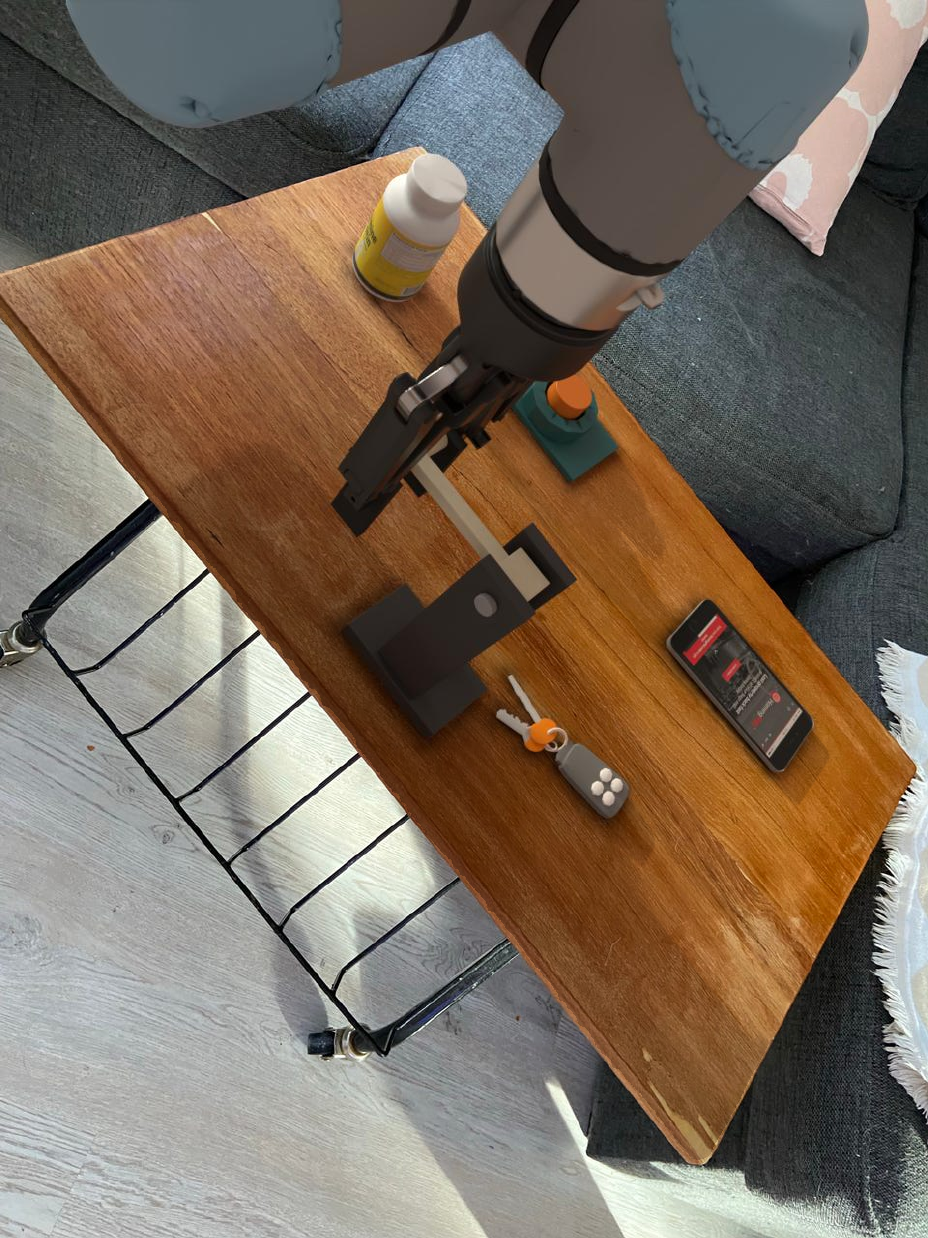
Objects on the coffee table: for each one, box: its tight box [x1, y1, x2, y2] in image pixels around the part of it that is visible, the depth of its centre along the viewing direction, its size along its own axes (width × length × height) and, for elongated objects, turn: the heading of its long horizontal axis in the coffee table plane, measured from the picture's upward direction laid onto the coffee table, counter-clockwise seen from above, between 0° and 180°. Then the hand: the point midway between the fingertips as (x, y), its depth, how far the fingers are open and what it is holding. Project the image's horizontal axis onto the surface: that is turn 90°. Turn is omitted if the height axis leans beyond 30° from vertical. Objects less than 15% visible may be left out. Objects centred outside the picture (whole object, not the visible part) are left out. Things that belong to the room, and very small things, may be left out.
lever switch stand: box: [340, 522, 578, 741], centre depth 65 cm, size 10×6×18 cm, turn 43°
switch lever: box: [411, 434, 550, 602], centre depth 59 cm, size 12×5×2 cm, turn 43°
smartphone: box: [666, 598, 815, 774], centre depth 85 cm, size 7×1×15 cm
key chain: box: [495, 674, 630, 820], centre depth 75 cm, size 13×4×2 cm, turn 53°
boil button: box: [547, 374, 592, 419], centre depth 85 cm, size 4×4×2 cm
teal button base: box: [510, 373, 620, 484], centre depth 86 cm, size 12×7×2 cm, turn 43°
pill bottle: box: [351, 153, 468, 303], centre depth 80 cm, size 6×6×12 cm
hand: (379, 498), depth 64 cm, fingers closed on switch lever, 5 cm apart
